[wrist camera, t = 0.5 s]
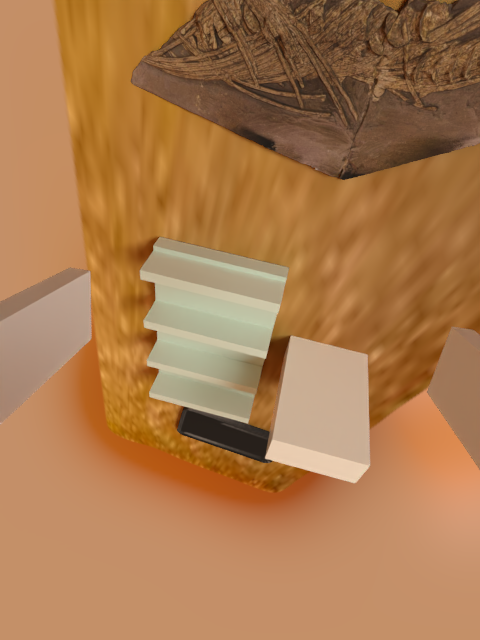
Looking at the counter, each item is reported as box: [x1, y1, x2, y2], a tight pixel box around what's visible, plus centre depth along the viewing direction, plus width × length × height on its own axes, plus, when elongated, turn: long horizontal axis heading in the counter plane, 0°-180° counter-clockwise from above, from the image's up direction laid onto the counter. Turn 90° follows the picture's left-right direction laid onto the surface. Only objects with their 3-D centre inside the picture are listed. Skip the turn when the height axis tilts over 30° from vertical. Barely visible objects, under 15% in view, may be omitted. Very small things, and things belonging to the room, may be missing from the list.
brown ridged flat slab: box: [131, 0, 480, 180], centre depth 24 cm, size 26×11×1 cm, turn 85°
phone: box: [177, 407, 272, 463], centre depth 55 cm, size 8×1×15 cm
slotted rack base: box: [140, 237, 289, 423], centre depth 39 cm, size 20×12×4 cm, turn 173°
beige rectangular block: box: [265, 336, 370, 483], centre depth 36 cm, size 4×8×12 cm, turn 83°
